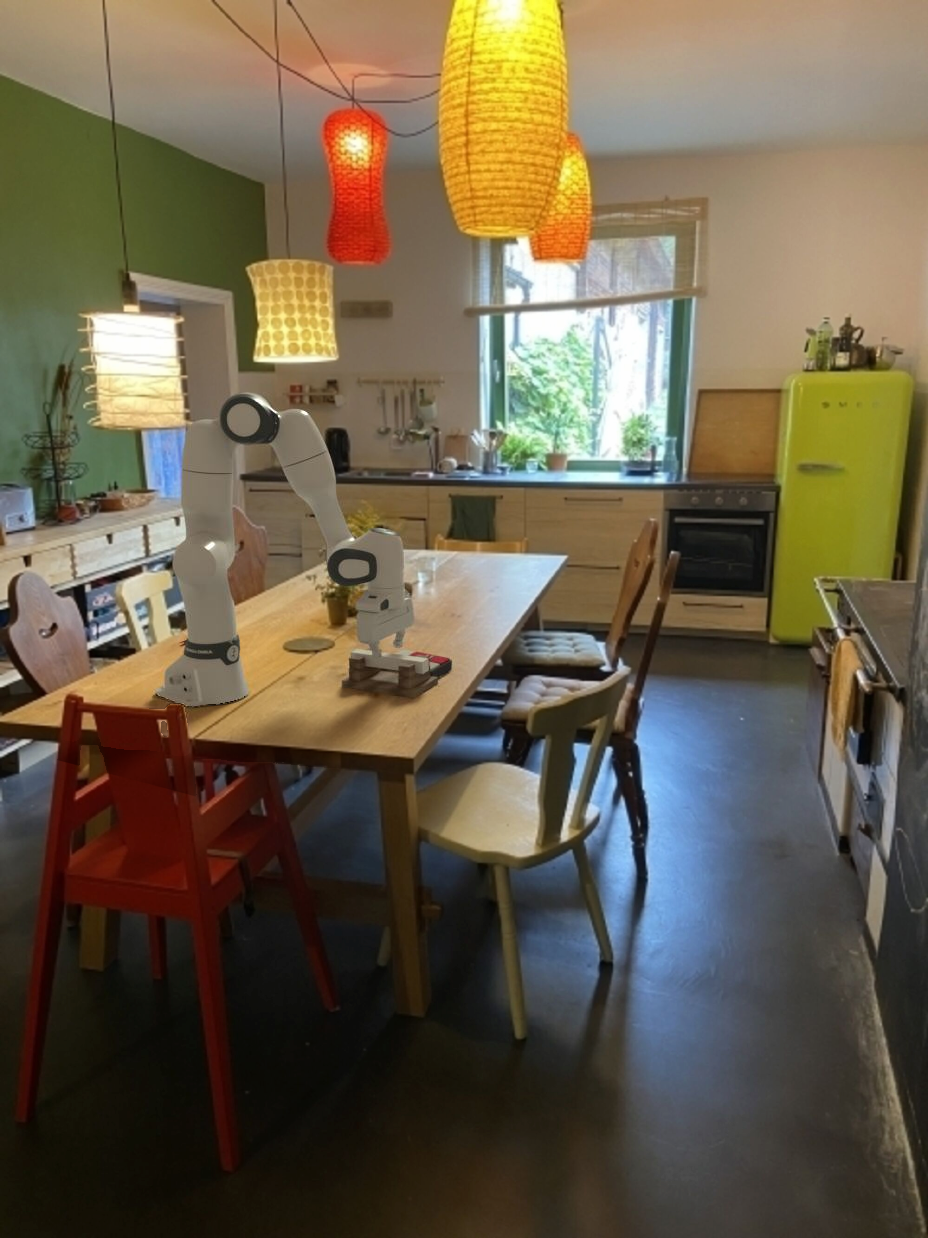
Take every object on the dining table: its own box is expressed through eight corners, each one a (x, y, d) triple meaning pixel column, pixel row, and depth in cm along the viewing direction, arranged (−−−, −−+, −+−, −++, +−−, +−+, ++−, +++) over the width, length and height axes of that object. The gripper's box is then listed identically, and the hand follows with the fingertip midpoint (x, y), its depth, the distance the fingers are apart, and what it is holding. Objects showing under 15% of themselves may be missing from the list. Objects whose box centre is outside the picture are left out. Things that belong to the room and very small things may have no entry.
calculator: (431, 669, 215) (379, 658, 222) (431, 685, 217) (379, 674, 223) (452, 657, 225) (402, 647, 231) (452, 673, 226) (402, 662, 232)
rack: (342, 686, 214) (340, 658, 212) (369, 672, 224) (368, 645, 223) (412, 698, 205) (411, 669, 203) (438, 683, 215) (437, 655, 214)
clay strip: (351, 663, 216) (350, 652, 216) (357, 660, 219) (357, 648, 218) (422, 674, 208) (422, 661, 207) (428, 670, 211) (428, 658, 210)
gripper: (397, 586, 219) (399, 640, 223) (350, 604, 202) (353, 661, 205) (419, 589, 217) (420, 643, 220) (374, 607, 199) (375, 665, 203)
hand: (387, 652), depth 213 cm, fingers open, 8 cm apart
